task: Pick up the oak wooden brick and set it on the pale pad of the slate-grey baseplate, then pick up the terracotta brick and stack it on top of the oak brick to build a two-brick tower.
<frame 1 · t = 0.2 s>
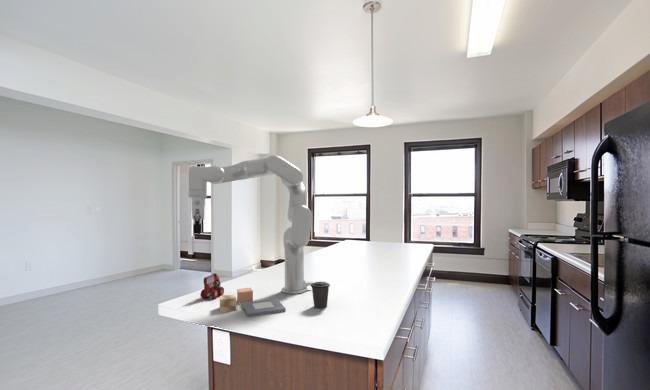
hand: (197, 232, 140), 31 cm above the counter, tool pointing down, fingers open, 9 cm apart
terracotta brick: (244, 301, 141), on the counter
toy fire truck: (212, 297, 148), on the counter
oak brick: (227, 309, 130), on the counter
coffee cup: (320, 307, 132), on the counter
baseplate: (263, 308, 130), on the counter
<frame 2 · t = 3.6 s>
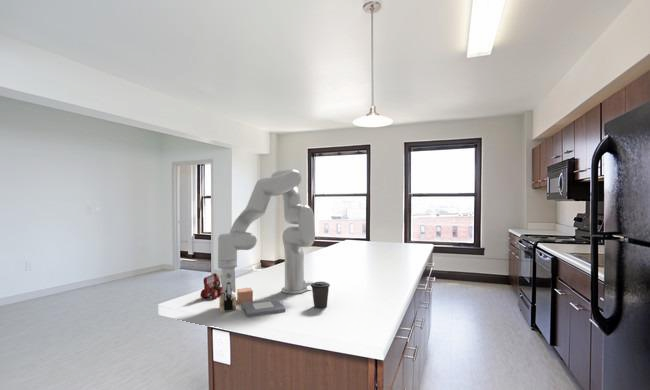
hand: (227, 307, 130), 1 cm above the counter, tool pointing down, fingers closed on oak brick, 6 cm apart
oak brick: (227, 308, 130), on the counter, touching gripper
everything else where it was.
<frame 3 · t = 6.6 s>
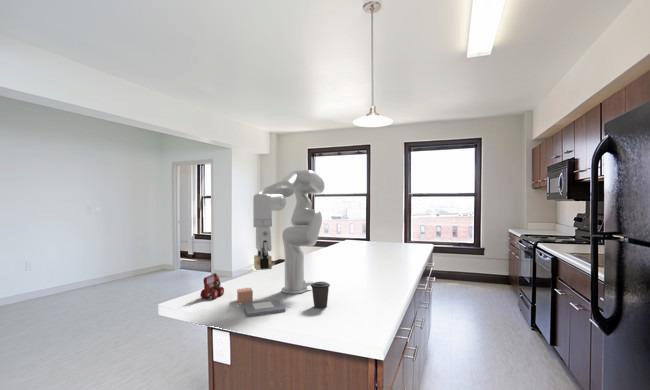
hand: (262, 266, 131), 17 cm above the counter, tool pointing down, fingers closed on oak brick, 6 cm apart
oak brick: (262, 268, 131), point 16 cm above the counter, touching gripper
everything else where it was.
when the fingers open (3 cm above the counter, at t = 9.6 s): oak brick drops 1 cm, resting on baseplate.
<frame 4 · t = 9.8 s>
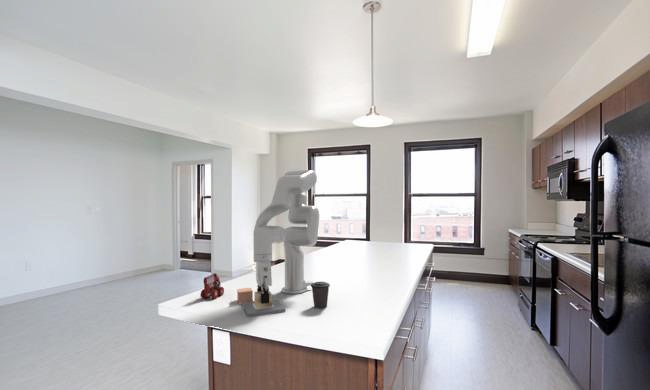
hand: (263, 299, 130), 3 cm above the counter, tool pointing down, fingers open, 8 cm apart
oak brick: (263, 305, 130), point 1 cm above the counter, touching baseplate
everything else where it was.
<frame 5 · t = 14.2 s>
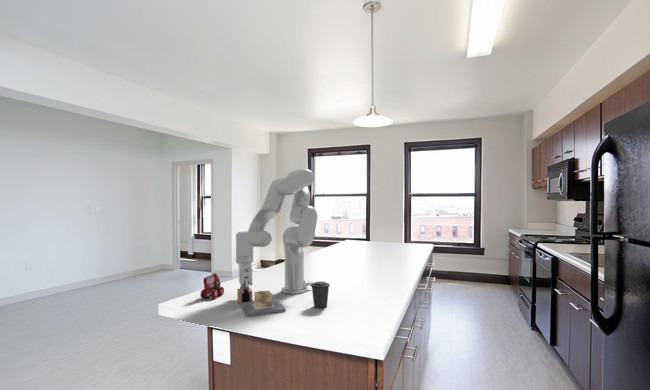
hand: (244, 299, 141), 1 cm above the counter, tool pointing down, fingers closed on terracotta brick, 6 cm apart
terracotta brick: (244, 301, 141), on the counter, touching gripper
everything else where it was.
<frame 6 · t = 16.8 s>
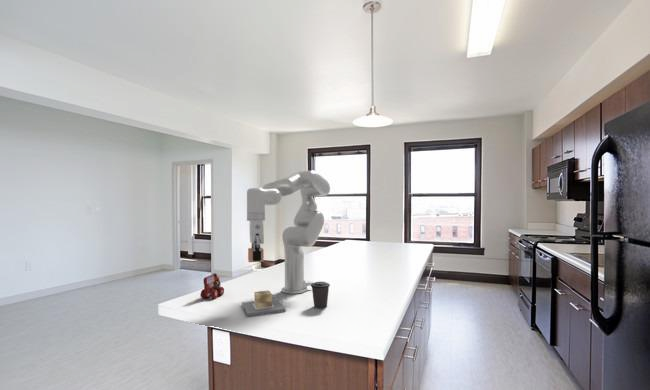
hand: (255, 259, 134), 20 cm above the counter, tool pointing down, fingers closed on terracotta brick, 6 cm apart
terracotta brick: (255, 260, 134), point 19 cm above the counter, touching gripper
everything else where it was.
when the fingers open (8 cm above the counter, at t = 19.8 s): terracotta brick drops 1 cm, resting on oak brick.
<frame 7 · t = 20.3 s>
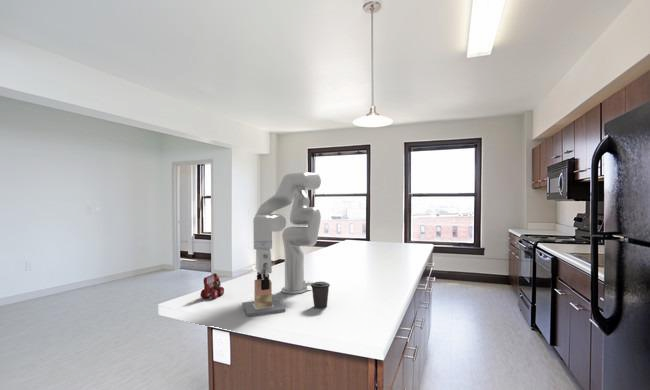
hand: (263, 286, 131), 9 cm above the counter, tool pointing down, fingers open, 9 cm apart
terracotta brick: (262, 292, 131), point 6 cm above the counter, touching oak brick
oak brick: (263, 305, 130), point 1 cm above the counter, touching baseplate, terracotta brick
everything else where it was.
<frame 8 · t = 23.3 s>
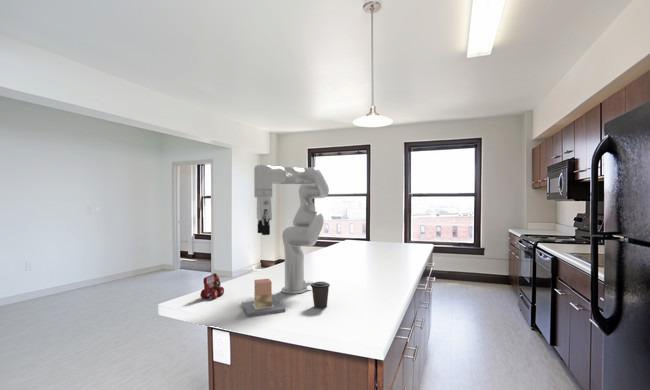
hand: (263, 233, 135), 30 cm above the counter, tool pointing down, fingers open, 9 cm apart
nothing on the counter moved.
at the end: oak brick 0.1 cm off-centre on the baseplate, point 1.3 cm above the baseplate's base; terracotta brick 0.1 cm off-centre on the oak brick, point 5.0 cm above the oak brick's base; terracotta brick tilted 0° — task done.
